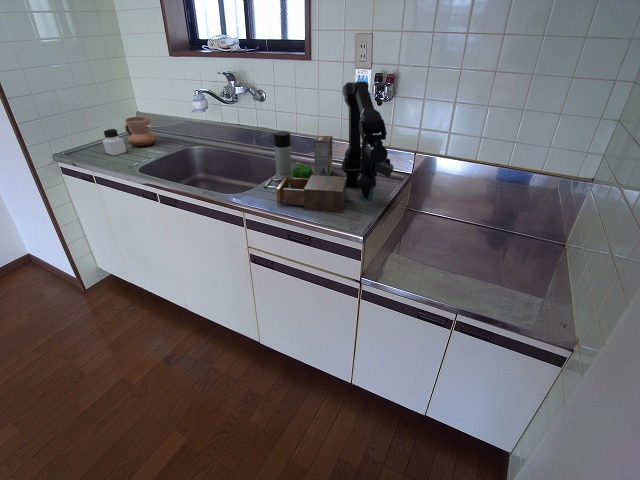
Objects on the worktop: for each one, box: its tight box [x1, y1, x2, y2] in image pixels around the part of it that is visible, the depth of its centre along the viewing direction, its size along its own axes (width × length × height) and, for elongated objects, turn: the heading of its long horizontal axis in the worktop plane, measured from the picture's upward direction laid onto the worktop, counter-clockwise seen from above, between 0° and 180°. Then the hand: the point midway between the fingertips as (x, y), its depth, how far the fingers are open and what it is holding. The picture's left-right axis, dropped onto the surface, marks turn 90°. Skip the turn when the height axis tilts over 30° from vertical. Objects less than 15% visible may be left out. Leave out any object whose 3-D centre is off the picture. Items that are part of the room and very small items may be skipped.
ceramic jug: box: [124, 116, 157, 148], centre depth 202 cm, size 18×14×14 cm
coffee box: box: [313, 135, 333, 176], centre depth 161 cm, size 9×6×16 cm
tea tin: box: [359, 187, 375, 202], centre depth 133 cm, size 5×5×5 cm
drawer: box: [263, 176, 309, 206], centre depth 139 cm, size 18×13×6 cm
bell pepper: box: [292, 162, 314, 179], centre depth 150 cm, size 8×8×10 cm
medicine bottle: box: [101, 128, 127, 156], centre depth 190 cm, size 7×7×12 cm
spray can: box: [273, 130, 293, 182], centre depth 154 cm, size 7×7×20 cm
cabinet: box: [303, 174, 347, 213], centre depth 137 cm, size 14×14×8 cm
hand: (366, 195), depth 134 cm, fingers closed on tea tin, 4 cm apart
